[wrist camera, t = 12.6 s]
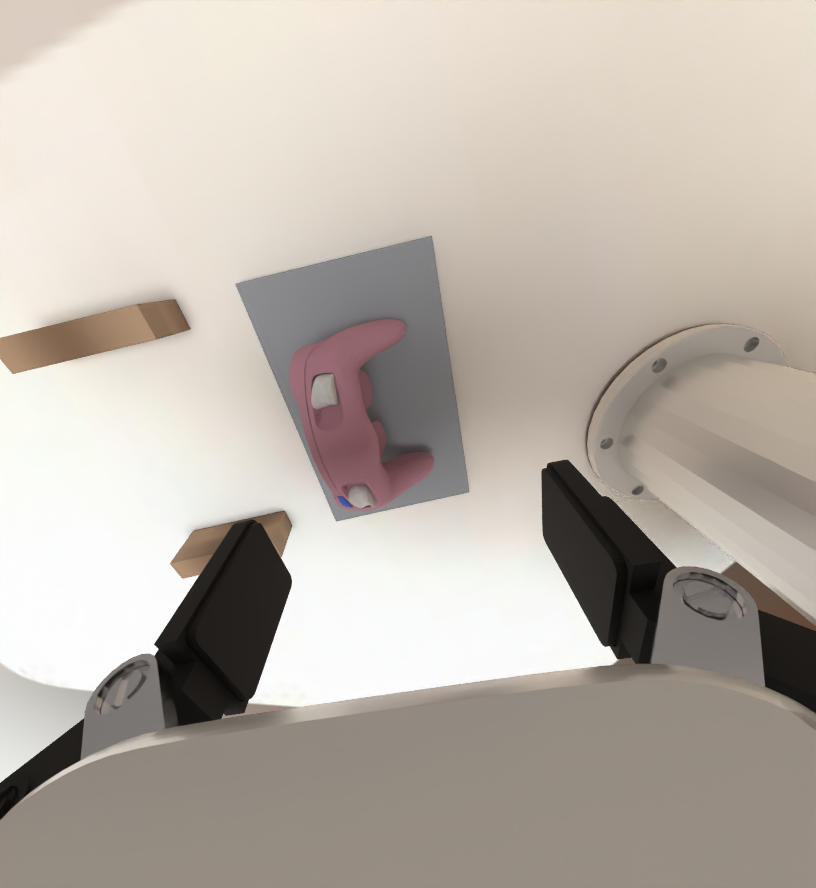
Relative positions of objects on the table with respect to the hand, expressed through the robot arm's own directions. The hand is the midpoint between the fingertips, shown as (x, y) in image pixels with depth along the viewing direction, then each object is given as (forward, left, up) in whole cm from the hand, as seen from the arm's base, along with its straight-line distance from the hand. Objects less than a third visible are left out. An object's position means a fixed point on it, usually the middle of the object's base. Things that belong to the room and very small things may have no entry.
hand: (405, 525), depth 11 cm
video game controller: (+1, 0, -11) cm, 11 cm away
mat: (+1, 0, -11) cm, 11 cm away
